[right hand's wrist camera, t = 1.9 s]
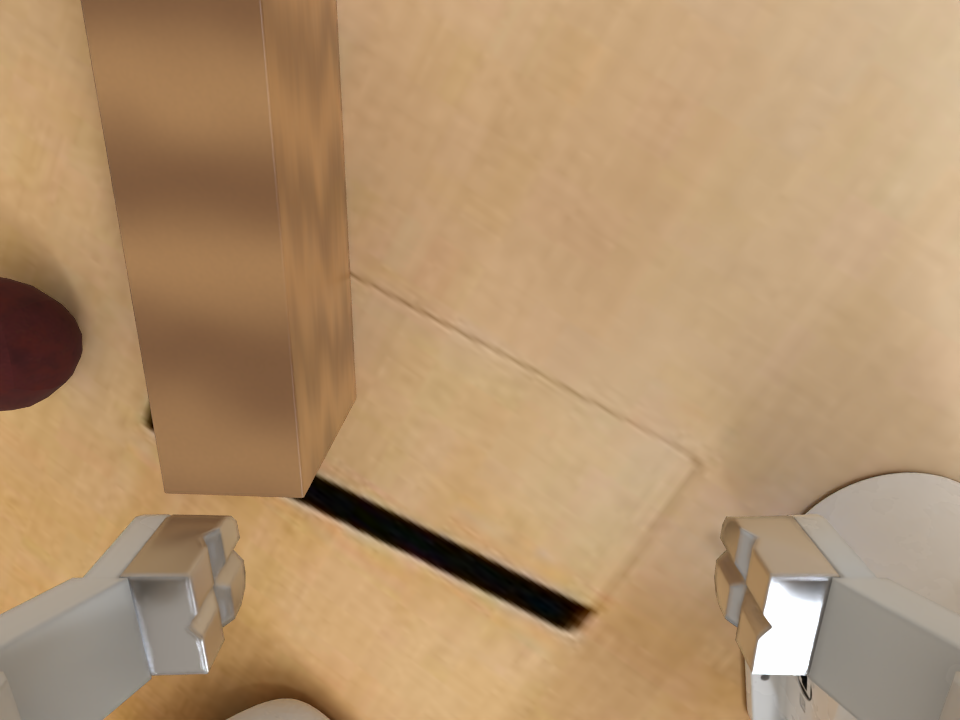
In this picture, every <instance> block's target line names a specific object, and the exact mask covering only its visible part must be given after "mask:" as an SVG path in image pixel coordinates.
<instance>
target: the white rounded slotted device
mask: <svg viewBox="0 0 960 720" xmlns="http://www.w3.org/2000/svg"><path fill="white" fill-rule="evenodd" d="M226 720H330V719H329V718H328V717H326V716H325V715H324V714H323V713H321V712H320V711H319V710H317V709H316V708H314V707H313V706H311V705H309V704H307V703H305V702H302V701H300V700H296V699H276V700H271V701H267V702H264V703H261V704H258V705H256V706H253V707H251V708H249V709H246V710H244V711H242V712H240V713H238V714H236V715H234V716H232V717H230V718H228V719H226Z"/></svg>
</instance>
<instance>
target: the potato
mask: <svg viewBox="0 0 960 720" xmlns="http://www.w3.org/2000/svg"><path fill="white" fill-rule="evenodd" d="M81 354H82V334H81V331H80V329H79V327H78V325H77V323H76V320H75V318H74V317H73V316H72V315H71V314H70V313H69V312H68V311H67V310H66V308H65V307H64V306H63V305H62V304H60V303H59V302H57V301H56V300H54V299H52V298H51V297H49V296H48V295H46V294H45V293H43V292H41V291H40V290H38V289H36V288H35V287H33V286H31V285H28V284H24V283H21V282H18V281H14V280H11V279H7V278H1V277H0V411H7V410H15V409H20V408H25V407H30V406H32V405H34V404H36V403H38V402H40V401H41V400H43V399H45V398H47V397H49V396H50V395H51V394H52V393H53V392H55V391H56V390H57V389H58V388H59V387H61V386H62V385H63V384H64V383H65V382H66V381H67V380H68V379H69V378H70V377H71V376H72V375H73V372H74V370H75V368H76V366H77V364H78V362H79V359H80V357H81Z"/></svg>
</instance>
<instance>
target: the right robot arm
mask: <svg viewBox="0 0 960 720" xmlns="http://www.w3.org/2000/svg"><path fill="white" fill-rule="evenodd" d="M239 538H240V536H239V531H238V526H237V521H236V520H235V519H234V518H233V517H232V516H213V515H141V516H138V517H135V518H134V519H133V521H132V522H131V523H130V524H129V525H128V526H127V527H126V529H125V530H124V531H123V532H122V533H121V534H120V535H119V537H118V538H117V539H116V540H115V541H114V542H113V543H112V545H111V546H110V547H109V548H108V549H107V550H106V551H105V553H104V554H103V555H102V556H101V557H100V558H99V560H98V561H97V562H96V563H95V564H94V565H93V566H92V568H91V569H90V570H89V571H88V572H87V573H86V574H85V576H84V577H83V578H71V579H69V580H67V581H66V582H64V583H62V584H60V585H58V586H56V587H54V588H52V589H50V590H48V591H46V592H44V593H42V594H40V595H38V596H36V597H34V598H32V599H30V600H28V601H26V602H24V603H22V604H20V605H18V606H16V607H14V608H12V609H10V610H8V611H6V612H4V613H2V614H0V720H103V719H104V718H105V717H106V716H108V715H109V714H110V713H111V712H112V711H114V710H115V709H116V708H117V707H118V706H119V705H121V704H122V703H123V702H124V701H125V700H127V699H128V698H129V697H130V696H131V695H133V694H134V693H135V692H136V691H137V690H138V689H140V688H141V687H142V686H143V685H144V684H146V683H147V682H148V681H149V680H150V679H151V675H183V674H208V672H209V670H210V668H211V666H212V664H213V662H214V660H215V658H216V656H217V654H218V652H219V650H220V648H221V646H222V644H223V642H224V634H223V628H222V627H224V626H225V625H227V624H228V623H230V622H231V621H232V620H234V619H235V617H236V615H237V613H238V611H239V609H240V607H241V604H242V599H243V595H244V590H245V567H244V560H243V559H242V558H241V557H240V556H239V555H238V554H237V553H236V552H235V551H234V550H233V549H234V547H235V546H236V544H237V542H238V540H239ZM720 538H721V540H722V542H723V544H724V546H725V547H726V549H727V550H726V551H725V552H724V553H723V554H722V555H721V556H720V557H719V558H718V559H717V560H716V568H715V576H714V579H715V590H716V596H717V600H718V603H719V607H720V609H721V611H722V613H723V615H724V618H725V619H726V620H728V621H729V622H730V623H732V624H733V625H735V626H736V627H737V634H736V642H737V644H738V646H739V648H740V650H741V652H742V654H743V656H744V658H745V676H746V698H747V711H748V715H749V717H750V719H751V720H960V483H959V482H957V481H954V480H952V479H949V478H946V477H942V476H938V475H933V474H926V473H893V474H886V475H881V476H876V477H872V478H868V479H865V480H862V481H859V482H856V483H854V484H851V485H849V486H847V487H844V488H842V489H840V490H838V491H836V492H835V493H833V494H831V495H830V496H828V497H826V498H825V499H823V500H822V501H820V502H819V503H818V504H816V505H815V506H814V507H813V508H811V509H810V510H809V511H808V512H807V513H806V514H805V515H787V516H739V517H726V518H725V520H724V522H723V524H722V530H721V535H720Z"/></svg>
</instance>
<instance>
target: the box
mask: <svg viewBox="0 0 960 720" xmlns="http://www.w3.org/2000/svg"><path fill="white" fill-rule="evenodd" d="M81 4H82V10H83V16H84V22H85V28H86V34H87V40H88V45H89V51H90V57H91V63H92V69H93V75H94V81H95V86H96V92H97V98H98V104H99V110H100V116H101V122H102V127H103V133H104V139H105V145H106V151H107V157H108V163H109V168H110V174H111V180H112V186H113V192H114V198H115V204H116V209H117V215H118V221H119V227H120V233H121V239H122V245H123V250H124V256H125V262H126V268H127V274H128V280H129V286H130V291H131V297H132V303H133V309H134V315H135V321H136V327H137V332H138V338H139V344H140V350H141V356H142V362H143V368H144V373H145V379H146V385H147V391H148V397H149V403H150V409H151V414H152V420H153V426H154V432H155V438H156V444H157V450H158V455H159V461H160V467H161V473H162V479H163V485H164V491H165V493H175V494H204V495H234V496H264V497H293V498H303V497H304V496H305V494H306V492H307V490H308V488H309V486H310V485H311V483H312V481H313V479H314V477H315V475H316V473H317V471H318V470H319V468H320V466H321V464H322V462H323V460H324V458H325V456H326V454H327V453H328V451H329V449H330V447H331V445H332V443H333V441H334V439H335V438H336V436H337V434H338V432H339V430H340V428H341V426H342V424H343V422H344V421H345V419H346V417H347V415H348V413H349V411H350V409H351V407H352V406H353V404H354V402H355V400H356V387H355V367H354V346H353V326H352V306H351V286H350V266H349V246H348V226H347V206H346V186H345V166H344V145H343V125H342V105H341V85H340V65H339V45H338V25H337V5H336V0H81Z"/></svg>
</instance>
